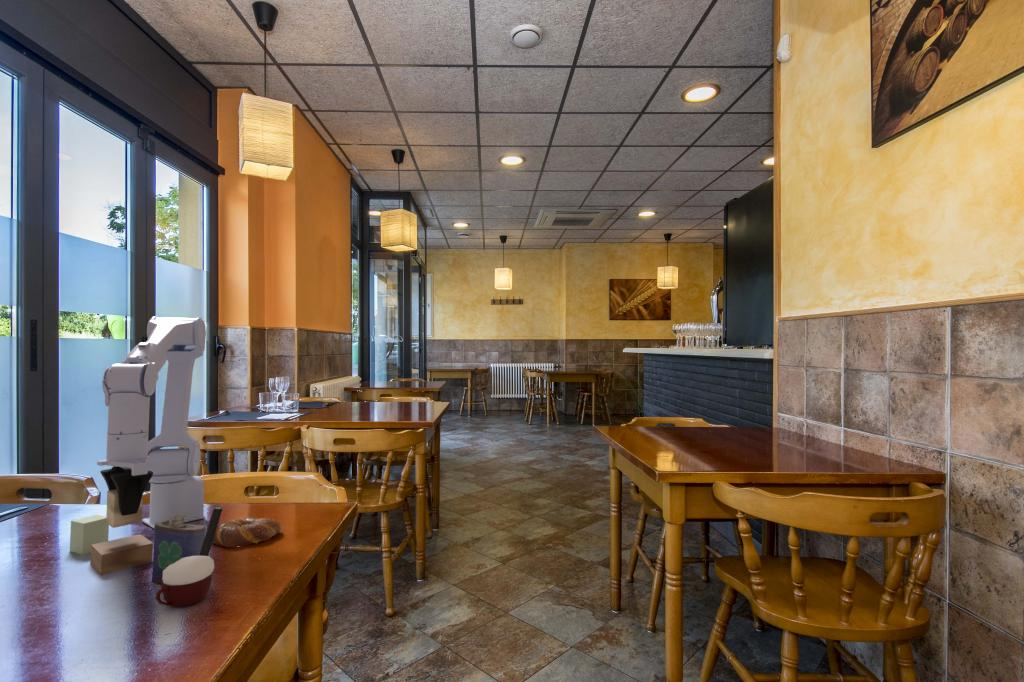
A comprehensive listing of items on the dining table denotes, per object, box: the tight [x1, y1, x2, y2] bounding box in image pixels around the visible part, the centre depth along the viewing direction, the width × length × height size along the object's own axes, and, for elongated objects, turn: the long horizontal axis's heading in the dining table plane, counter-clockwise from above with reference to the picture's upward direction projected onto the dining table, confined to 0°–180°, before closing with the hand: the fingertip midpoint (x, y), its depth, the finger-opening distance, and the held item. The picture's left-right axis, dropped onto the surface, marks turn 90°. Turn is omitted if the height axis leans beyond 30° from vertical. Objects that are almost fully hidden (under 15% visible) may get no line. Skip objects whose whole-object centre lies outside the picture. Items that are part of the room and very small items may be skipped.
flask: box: [151, 513, 207, 586], centre depth 79 cm, size 9×3×11 cm, turn 74°
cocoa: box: [155, 506, 223, 608], centre depth 73 cm, size 10×6×12 cm, turn 139°
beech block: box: [105, 489, 144, 529], centre depth 87 cm, size 4×4×6 cm
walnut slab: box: [90, 533, 154, 576], centre depth 86 cm, size 7×7×4 cm
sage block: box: [69, 514, 110, 556], centre depth 92 cm, size 4×4×6 cm
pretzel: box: [212, 517, 282, 548], centre depth 99 cm, size 12×11×4 cm
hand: (125, 511), depth 87 cm, fingers closed on beech block, 4 cm apart
